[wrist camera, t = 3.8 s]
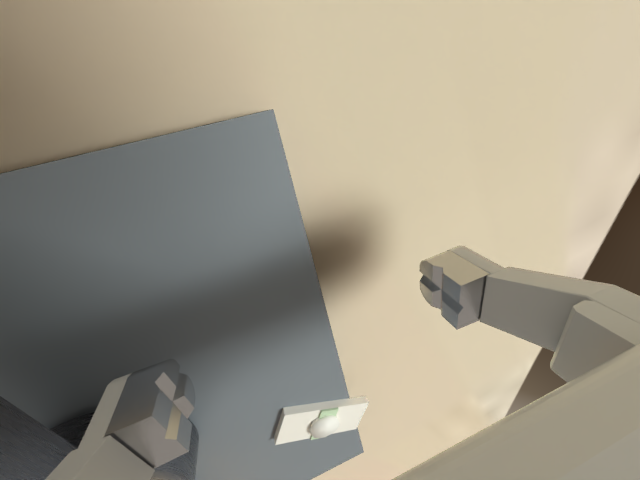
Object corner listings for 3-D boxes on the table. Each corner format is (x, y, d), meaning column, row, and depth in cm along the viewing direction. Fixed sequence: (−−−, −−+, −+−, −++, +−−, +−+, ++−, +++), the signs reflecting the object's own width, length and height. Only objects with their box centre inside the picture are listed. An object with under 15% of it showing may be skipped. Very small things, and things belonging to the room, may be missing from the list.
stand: (-723, 345, 5) (-1321, 487, 3) (294, 103, 9) (312, 100, 7) (62, 574, 16) (39, 637, 14) (366, 423, 19) (380, 457, 17)
